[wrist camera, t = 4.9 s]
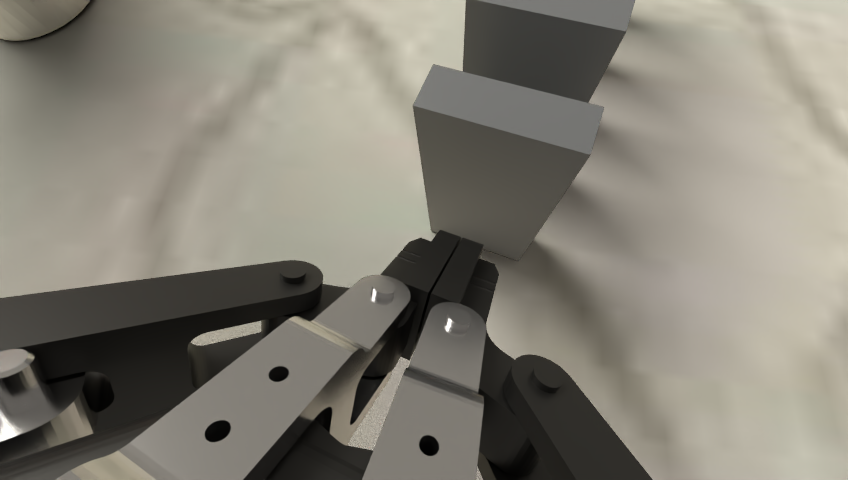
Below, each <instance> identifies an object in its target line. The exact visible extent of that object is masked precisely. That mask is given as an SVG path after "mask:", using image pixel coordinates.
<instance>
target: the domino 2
mask: <svg viewBox="0 0 848 480" xmlns="http://www.w3.org/2000/svg"><path fill="white" fill-rule="evenodd" d="M413 109H414V116H415V123H416V130H417V137H418V144H419V151H420V157H421V164H422V171H423V178H424V185H425V192H426V199H427V205H428V212H429V219H430V226H431V231H433V232H436V233H438V232H439V231H440V230H443V231H446V232H449V233H452V234H454V235H457V236H460V237H461V240H462V238H466V239H469V240H472V241H475V242H478V243H480V244H483V245H484V246H483V249H485V250H488V251H491V252H494V253H497V254H499V255H502V256H505V257H508V258H511V259H514V260H517V261H519V260H520V258H521V257H522V255H523V254H524V252H525V251H526V249H527V248H528V247H529V245H530V244H531V242H532V241H533V239H534V238H535V236H536V235H537V233H538V232H539V230H540V229H541V227H542V226H543V224H544V223H545V221H546V220H547V218H548V217H549V215H550V214H551V213H552V211H553V210H554V208H555V207H556V205H557V204H558V202H559V201H560V199H561V198H562V196H563V195H564V193H565V192H566V190H567V189H568V187H569V186H570V184H571V183H572V182H573V180H574V179H575V177H576V176H577V174H578V173H579V171H580V170H581V168H582V167H583V165H584V164H585V162H586V161H587V159H588V158H589V156H590V155H591V152H592V148H593V145H594V141H595V138H596V134H597V131H598V127H599V124H600V120H601V117H602V113H603V110H604V107H602V106H598V105H594V104H590V103H586V102H582V101H578V100H574V99H570V98H566V97H562V96H558V95H554V94H550V93H546V92H542V91H538V90H534V89H530V88H526V87H522V86H518V85H514V84H510V83H506V82H502V81H498V80H494V79H490V78H486V77H482V76H478V75H474V74H470V73H466V72H462V71H458V70H454V69H450V68H446V67H442V66H438V65H434V64H433V66H432V68H431V70H430V72H429V74H428V76H427V78H426V80H425V82H424V84H423V86H422V88H421V90H420V92H419V94H418V96H417V98H416V100H415V102H414V104H413Z"/></svg>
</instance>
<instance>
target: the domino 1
mask: <svg viewBox="0 0 848 480" xmlns="http://www.w3.org/2000/svg"><path fill="white" fill-rule="evenodd" d="M634 3H635V0H466V11H465V34H464V57H463V72H466V73H470V74H474V75H478V76H482V77H486V78H490V79H494V80H498V81H502V82H506V83H510V84H514V85H518V86H522V87H526V88H530V89H534V90H538V91H542V92H546V93H550V94H554V95H558V96H562V97H566V98H570V99H574V100H578V101H582V102H586V103H588V102H589V100H590V98H591V97H592V95H593V93H594V91H595V89H596V87H597V85H598V83H599V82H600V80H601V78H602V76H603V74H604V72H605V70H606V68H607V67H608V65H609V63H610V61H611V59H612V57H613V55H614V53H615V52H616V50H617V48H618V46H619V44H620V42H621V40H622V38H623V37H624V35H625V33H626V30H627V27H628V23H629V20H630V17H631V13H632V10H633V6H634Z"/></svg>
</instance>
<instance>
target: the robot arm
mask: <svg viewBox="0 0 848 480" xmlns="http://www.w3.org/2000/svg"><path fill="white" fill-rule="evenodd" d="M89 2H90V0H0V38H1V39H4V40H12V41H18V40H27V39H32V38H36V37H40V36H42V35H45V34H47V33H50V32H52V31H54V30H56V29H58V28H60V27H62V26H63V25H65V24H66V23H68V22H69V21H71V20H72V19H73V18H75V17H76V16H77V15H78V14H79V13H80V12H81V11H82V10H83V9H84V8H85V7H86V5H87V4H88V3H89ZM483 246H484V245H483V244H480V243H478V242H475V241H472V240H469V239H466V238H462V240H461V237H460V236H457V235H454V234H452V233H449V232H446V231H443V230H440V231H439V232H438V233H437V235H436V236H435V237H434V239H433V240H432V241H428V240H425V239H422V238H419V239H416V240H414V241H411V242H409V243H408V244H407V245H406V246H405V248H404V249H403V251H401V252H400V253H399V254H398V256H397V257H396V258H395V259H394V260H393V261H392V262H391V263H390V265H389V266H388V267H387V268H386V269H385V270H384V271H383V272H382V274H381V275H371V276H367V277H364V278H362V279H361V280H359V281H358V282H357V283H356V284H354V285H353V286H352V287H351V288H345V287H338V286H332V285H325V284H323V274H322V272H321V271H320V269H318V268H317V267H316V266H314V265H312V264H310V263H307V262H303V261H296V260H289V261H280V262H273V263H265V264H257V265H250V266H242V267H235V268H227V269H219V270H212V271H204V272H197V273H189V274H181V275H174V276H166V277H159V278H151V279H143V280H136V281H128V282H120V283H113V284H105V285H98V286H90V287H82V288H75V289H67V290H60V291H52V292H44V293H37V294H29V295H22V296H14V297H6V298H0V480H476V472H477V466H478V469H479V471H480V473H481V475H482V478H483V480H652V478H651V477H650V476H649V475H648V473H647V472H646V471H645V470H644V468H643V467H642V466H641V465H640V463H639V462H638V461H637V460H636V458H635V457H634V456H633V455H632V453H631V452H630V451H629V450H628V448H627V447H626V446H625V445H624V443H623V442H622V441H621V440H620V438H619V437H618V436H617V435H616V433H615V432H614V431H613V430H612V428H611V427H610V426H609V425H608V423H607V422H606V421H605V420H604V418H603V417H602V416H601V415H600V413H599V412H598V411H597V410H596V408H595V407H594V406H593V405H592V403H591V402H590V401H589V400H588V398H587V397H586V396H585V395H584V393H583V392H582V391H581V390H580V388H579V387H578V386H577V385H576V383H575V382H574V381H573V380H572V378H571V377H570V376H569V375H568V374H567V373H566V372H565V371H564V370H563V369H562V368H561V367H560V366H558V365H557V364H555V363H554V362H552V361H550V360H548V359H546V358H543V357H541V356H537V355H523V356H520V357H518V358H517V359H516V360H514V359H513V358H511V357H510V356H508V355H507V354H505V353H504V352H503V351H501V350H500V349H499V348H498V347H497V346H496V345H495V344H494V343H493V342H492V340H491V339H490V337H489V336H488V333H487V330H486V321H487V317H488V314H489V310H490V306H491V302H492V298H493V295H494V291H495V287H496V283H497V279H498V276H499V274H498V271H497V269H496V267H495V264H493V263H490V262H487V261H484V260H481V259H479V258H480V255H481V252H482V249H483ZM256 321H261V331H262V332H260V333H256V334H252V335H248V336H243V337H239V338H235V339H231V340H226V341H222V342H218V343H214V344H209V345H204V346H197V345H194V344H192V343H190V342H191V341H192V340H193V339H194V338H195V337H197V336H198V335H200V334H203V333H206V332H210V331H215V330H220V329H224V328H229V327H233V326H238V325H243V324H247V323H252V322H256ZM414 350H415V352H414ZM413 352H414V354H413ZM412 354H413V357H412V359H411V362H410V365H409V367H408V368H406V370H405V372H404V374H403V376H402V379H401V382H400V384H399V387H398V389H397V392H396V394H395V397H394V399H393V402H392V405H391V407H390V410H389V412H388V415H387V417H386V420H385V422H384V425H383V427H382V430H381V433H380V435H379V438H378V440H377V443H376V445H375V448H374V450H373V451H372V450H367V449H362V448H357V447H351V446H347V445H348V443H349V441H350V439H351V437H352V436H353V434H354V432H355V431H356V429H357V428H358V426H359V425H360V423H361V422H362V420H363V419H364V417H365V416H366V414H367V413H368V411H369V410H370V408H371V407H372V405H373V404H374V402H375V400H376V399H377V397H378V396H379V394H380V393H381V391H382V390H383V388H384V387H385V385H386V384H387V382H388V381H389V379H390V377H391V373H392V370H393V369H394V367H395V366H396V364H397V362H398V360H399V358H400V357H403V358H406V359H408V360H410V358H411V356H412Z"/></svg>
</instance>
